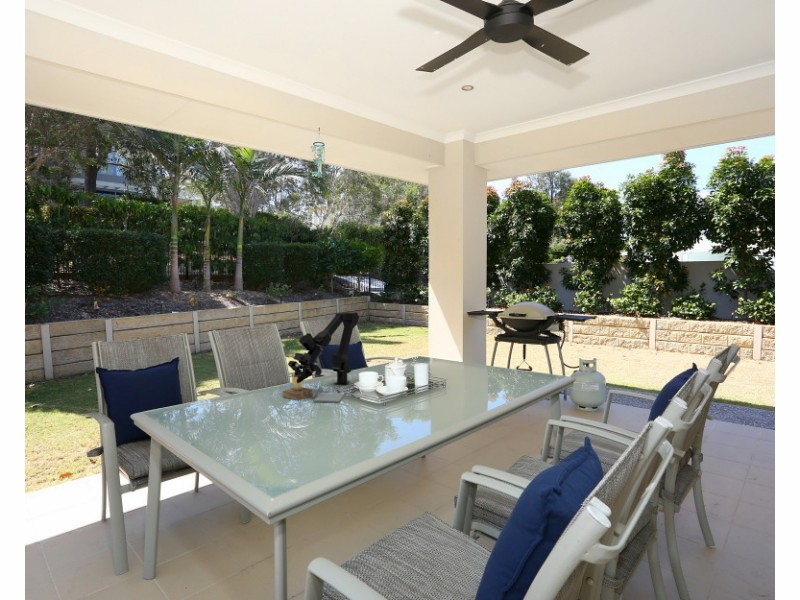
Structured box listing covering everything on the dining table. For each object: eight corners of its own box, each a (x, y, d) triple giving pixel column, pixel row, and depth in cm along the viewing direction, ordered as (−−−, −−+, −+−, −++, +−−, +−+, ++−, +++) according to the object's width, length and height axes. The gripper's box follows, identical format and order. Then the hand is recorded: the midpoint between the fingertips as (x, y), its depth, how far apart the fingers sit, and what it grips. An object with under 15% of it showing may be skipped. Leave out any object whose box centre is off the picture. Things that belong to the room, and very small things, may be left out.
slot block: (298, 392, 230) (298, 386, 230) (312, 395, 224) (312, 389, 224) (283, 396, 222) (282, 390, 222) (297, 400, 216) (297, 394, 216)
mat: (320, 395, 225) (320, 393, 225) (344, 395, 224) (344, 393, 224) (313, 402, 213) (313, 400, 213) (339, 403, 212) (339, 400, 212)
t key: (300, 394, 226) (299, 374, 225) (303, 395, 224) (303, 375, 224) (292, 396, 222) (292, 376, 221) (296, 397, 220) (295, 377, 220)
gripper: (290, 344, 230) (273, 370, 222) (317, 348, 219) (300, 375, 211) (302, 357, 237) (285, 383, 229) (328, 361, 226) (312, 388, 218)
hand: (295, 382), depth 221 cm, fingers closed on t key, 2 cm apart
